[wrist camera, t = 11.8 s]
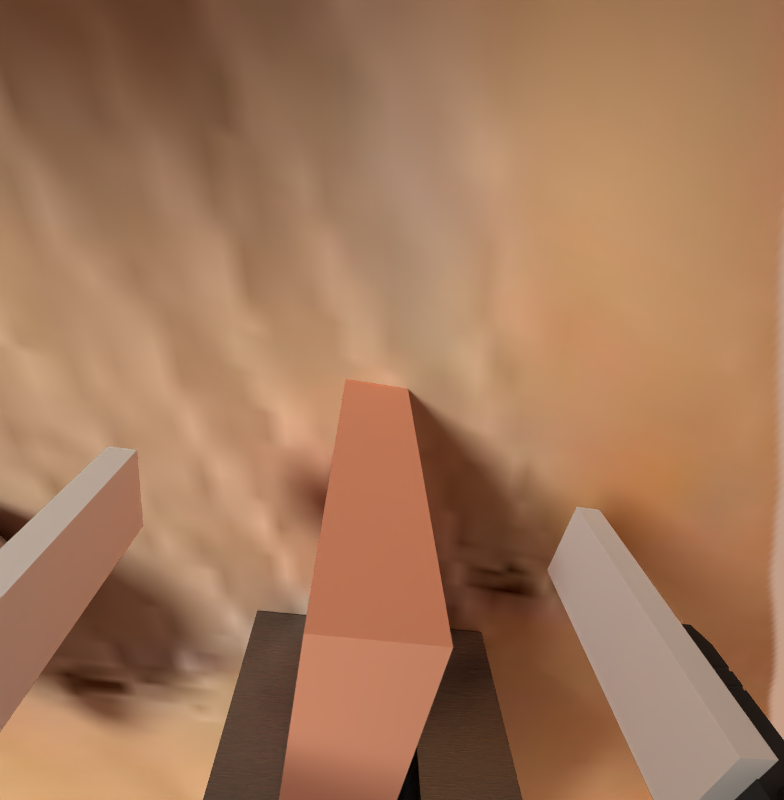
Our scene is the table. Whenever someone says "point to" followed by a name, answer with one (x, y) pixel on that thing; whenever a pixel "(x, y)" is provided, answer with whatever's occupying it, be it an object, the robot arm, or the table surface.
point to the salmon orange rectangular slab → (368, 612)
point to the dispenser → (436, 750)
